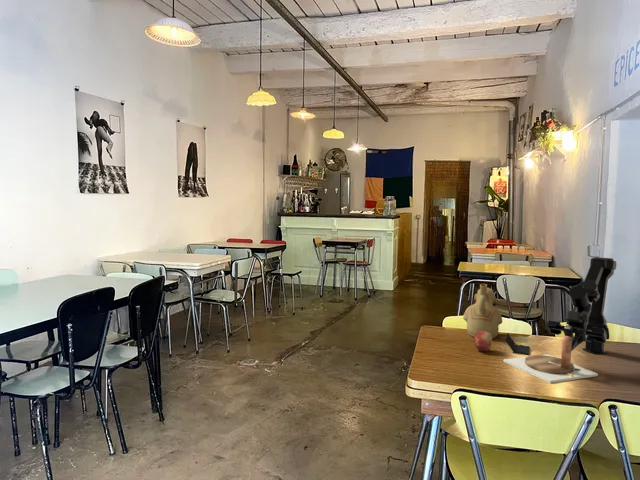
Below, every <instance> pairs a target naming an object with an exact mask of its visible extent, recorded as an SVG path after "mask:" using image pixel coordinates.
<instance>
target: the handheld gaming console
mask: <svg viewBox="0 0 640 480" xmlns="http://www.w3.org/2000/svg"><path fill="white" fill-rule="evenodd" d="M504 341H505V343H506V344H507V345H508V347H509V348H510V349H511V351H512V354H514V355H515V354H517V355H524V356H530V355H529V354H530V348H531V346H529V345H523V344H517V343H516V342H515V341H514V339H513V338H512V337H511V335H510V334H509V333H508V332H507V333H506V335H505V337H504Z"/></svg>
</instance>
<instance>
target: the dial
mask: <svg viewBox="0 0 640 480" xmlns="http://www.w3.org/2000/svg"><path fill="white" fill-rule="evenodd" d="M561 340H562V342H561V355H560V356H561V358H559V357H556V356H554V357H551V356H552V355H551V356H544V355H545V354H540V355H539V354H535V355H533V354H532V355H527V356H525V357H526V358H525V363H526V365H528V366H529V367H531V368H534V369H536V370H540V371H544V372H549V373H558V374H565V373H571V372H573V371H574V365H575V364H574V363H572V351H571V349H572V337H569V336H565V335H562V339H561ZM573 364H574V365H573Z"/></svg>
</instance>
